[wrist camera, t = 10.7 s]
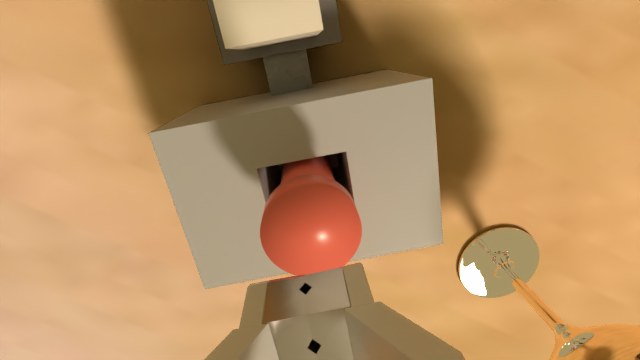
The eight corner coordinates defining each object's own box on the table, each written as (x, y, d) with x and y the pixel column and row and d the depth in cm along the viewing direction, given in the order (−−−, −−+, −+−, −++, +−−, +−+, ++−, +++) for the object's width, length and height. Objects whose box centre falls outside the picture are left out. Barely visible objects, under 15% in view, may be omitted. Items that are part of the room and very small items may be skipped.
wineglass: (429, 292, 28) (627, 653, 11) (474, 202, 26) (817, 495, 9) (517, 313, 29) (812, 666, 12) (568, 230, 27) (1026, 532, 10)
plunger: (330, 125, 20) (354, 177, 12) (341, 183, 21) (368, 267, 13) (269, 137, 20) (248, 197, 12) (282, 194, 21) (272, 285, 13)
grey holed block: (386, 69, 22) (432, 77, 14) (399, 185, 25) (443, 243, 17) (199, 105, 22) (148, 133, 15) (233, 217, 25) (204, 289, 17)
